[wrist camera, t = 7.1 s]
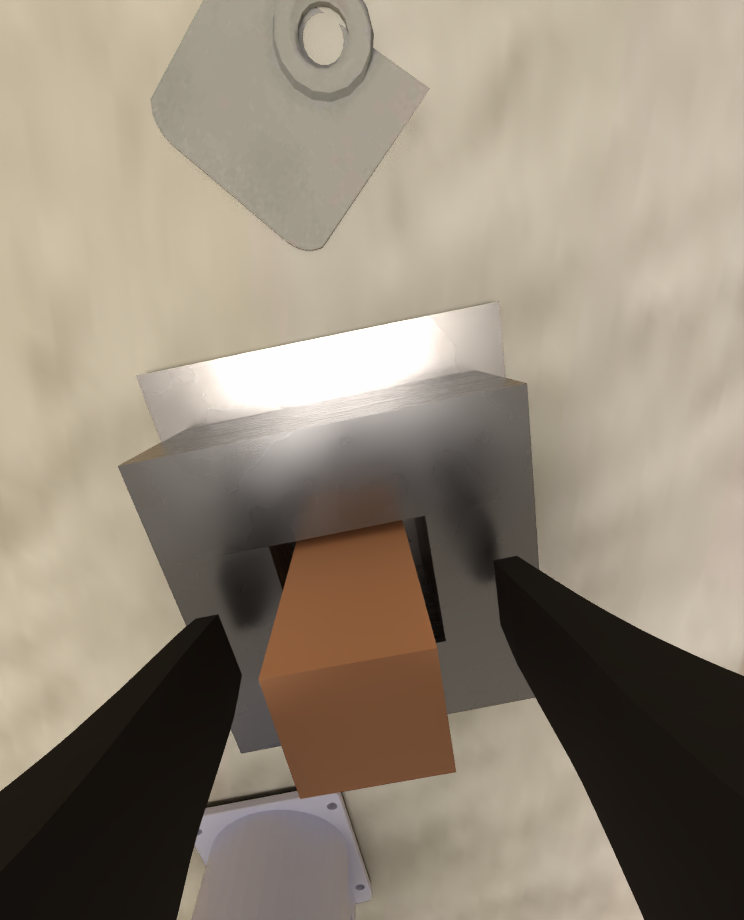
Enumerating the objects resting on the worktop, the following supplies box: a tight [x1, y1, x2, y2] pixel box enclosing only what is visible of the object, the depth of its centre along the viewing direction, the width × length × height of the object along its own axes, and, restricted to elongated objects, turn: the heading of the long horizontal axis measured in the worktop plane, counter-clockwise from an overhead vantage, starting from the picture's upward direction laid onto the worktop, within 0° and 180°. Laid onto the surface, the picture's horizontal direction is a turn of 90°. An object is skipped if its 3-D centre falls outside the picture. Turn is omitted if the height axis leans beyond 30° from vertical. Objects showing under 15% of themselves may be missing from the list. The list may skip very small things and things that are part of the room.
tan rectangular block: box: [258, 520, 456, 799], centre depth 11 cm, size 3×3×8 cm
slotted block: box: [118, 301, 539, 753], centre depth 13 cm, size 14×12×5 cm
